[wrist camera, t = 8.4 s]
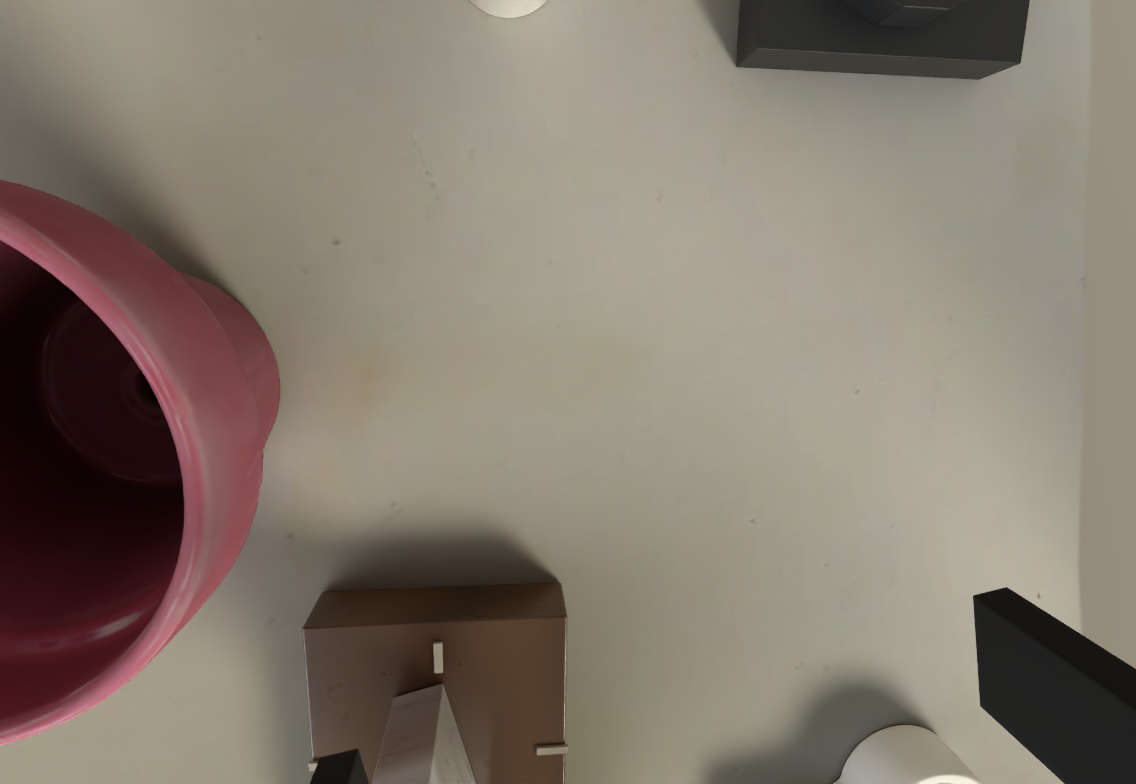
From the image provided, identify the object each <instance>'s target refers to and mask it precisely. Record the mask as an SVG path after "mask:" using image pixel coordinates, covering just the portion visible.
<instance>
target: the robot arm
mask: <svg viewBox="0 0 1136 784" xmlns="http://www.w3.org/2000/svg"><path fill="white" fill-rule="evenodd" d="M973 601H974V616H975V631H976V647H977V662H978V677H979V693H980V706H981V707H982V708H983V709H984V710H985V711H986V712H987V713H988V714H990V715H991V716H992V717H993V718H994V719H995V720H996V721H997V722H998V723H999V724H1000V725H1002V726H1003V727H1004V728H1005V729H1006V730H1007V731H1008V732H1009V733H1010V734H1011V735H1012V736H1014V737H1015V738H1016V739H1017V740H1018V741H1019V742H1020V743H1021V744H1022V745H1023V746H1024V747H1025V748H1027V749H1028V750H1029V751H1030V752H1031V753H1032V754H1033V755H1034V756H1035V757H1036V758H1037V759H1039V760H1040V761H1041V762H1042V763H1043V764H1044V765H1045V766H1046V767H1047V768H1048V769H1049V770H1051V771H1052V772H1053V773H1054V774H1055V775H1056V776H1057V777H1058V778H1059V779H1060V780H1061V781H1062V782H1064V783H1065V784H1136V669H1135V668H1133V667H1132V666H1130V665H1128V664H1127V663H1125V662H1124V661H1122V660H1121V659H1119V658H1117V657H1116V656H1114V655H1112V654H1111V653H1109V652H1108V651H1106V650H1105V649H1103V648H1102V647H1100V646H1099V645H1097V644H1095V643H1094V642H1092V641H1091V640H1089V639H1087V638H1086V637H1084V636H1083V635H1081V634H1080V633H1078V632H1076V631H1075V630H1073V629H1072V628H1070V627H1069V626H1067V625H1065V624H1064V623H1062V622H1061V621H1059V620H1058V619H1056V618H1054V617H1053V616H1051V615H1050V614H1048V613H1047V612H1045V611H1043V610H1042V609H1040V608H1039V607H1037V606H1035V605H1034V604H1032V603H1031V602H1029V601H1028V600H1026V599H1024V598H1023V597H1021V596H1020V595H1018V594H1017V593H1015V592H1013V591H1012V590H1010V589H1009V588H1007V587H1006V588H1002V589H998V590H994V591H990V592H986V593H982V594H978V595H974V596H973ZM310 784H369V781H368V778H367V774H366V771H365V768H364V765H363V762H362V759H361V756H360V753H359V750H358V748H357V749H353V750H349V751H345V752H341V753H337V754H332V755H328V756H324V757H320V758H319V761H318V764H317V766H316V769H315V772H314V774H313V777H312V780H311V782H310Z"/></svg>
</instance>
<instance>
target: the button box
mask: <svg viewBox="0 0 1136 784" xmlns="http://www.w3.org/2000/svg"><path fill="white" fill-rule="evenodd" d="M1029 1H1030V0H740V12H739V28H738V44H737V60H736V67H747V68H767V69H786V70H806V71H825V72H845V73H864V74H884V75H903V76H923V77H942V78H962V79H982V78H984V77H987V76H990V75H992V74H995V73H997V72H1000V71H1002V70H1005V69H1007V68H1010V67H1012V66H1015V65H1018V64H1020V63H1021V56H1022V49H1023V43H1024V36H1025V29H1026V22H1027V15H1028V8H1029Z"/></svg>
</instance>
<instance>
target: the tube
mask: <svg viewBox="0 0 1136 784" xmlns="http://www.w3.org/2000/svg"><path fill="white" fill-rule="evenodd" d="M546 1H547V0H470V2H471V3H473V4H474V5H475V6H476V7H478V8H479V9H480V10H482V11H484V12H486V13H488V14H490V15H493V16H497V17H501V18H517V17H522V16H525V15H527V14H530V13H532V12H534V11H535V10H537V9H538V8H540V7H541V6H542V5H543V4H544V3H545V2H546Z"/></svg>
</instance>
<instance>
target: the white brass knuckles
mask: <svg viewBox="0 0 1136 784" xmlns="http://www.w3.org/2000/svg"><path fill="white" fill-rule="evenodd" d="M833 784H983V783H982V782H981V781H980V780H979V779H978V778H977V777H976V776H975V775H974V774H973V772H972V771H971V770H970V769H969V768H968V767H967V766H966V765H965V764H964V763H963V762H962V761H961V760H960V759H959V757H958V756H957V755H956V754H955V753H954V752H953V751H952V750H951V749H950V748H949V747H948V746H947V745H946V743H945V742H944V741H943V740H942V739H941V738H940V737H938V736H937V735H936V734H934V733H933V732H931V731H929V730H927V729H925V728H922V727H918V726H913V725H898V726H892V727H888V728H885V729H882V730H880V731H878V732H876V733H874V734H872V735H870V736H869V737H867V738H866V739H865V740H863V741H862V742H861V743H860V744H859V745H858V746H857V747H856V748H855V749H854V750H853V752H852V753H851V754H850V756H849V757H848V759H847V761H846V763H845V765H844V768H843V771H842V774H841V776H840V778H839V779H838V780H837V781H835V782H834V783H833Z"/></svg>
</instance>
